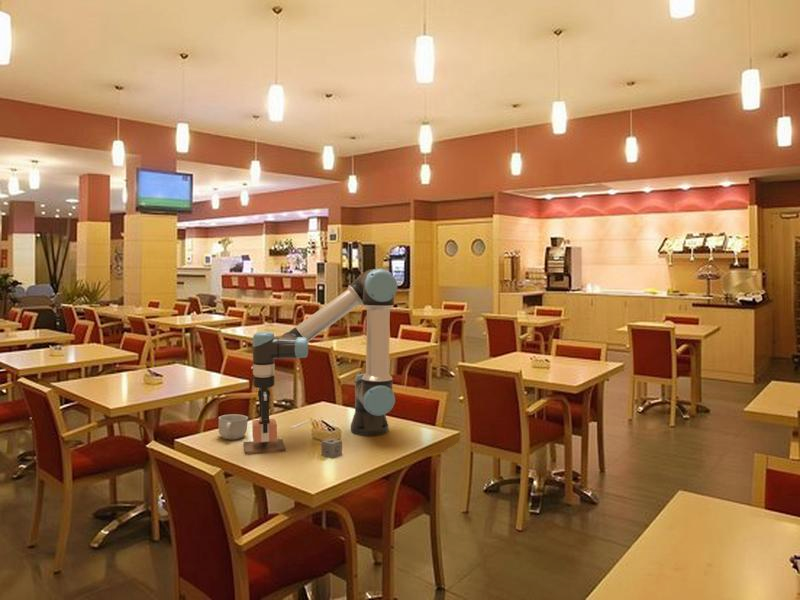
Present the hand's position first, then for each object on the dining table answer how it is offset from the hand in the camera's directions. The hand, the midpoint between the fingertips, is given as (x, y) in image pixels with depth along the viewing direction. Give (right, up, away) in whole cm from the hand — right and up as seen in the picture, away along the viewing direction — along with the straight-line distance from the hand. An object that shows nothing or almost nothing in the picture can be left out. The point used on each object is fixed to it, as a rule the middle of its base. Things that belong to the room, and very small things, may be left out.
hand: (264, 437), depth 210 cm
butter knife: (+10, -2, +39) cm, 40 cm away
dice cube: (+25, -5, -7) cm, 26 cm away
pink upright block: (0, 0, 0) cm, 0 cm away
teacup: (-15, -3, +11) cm, 19 cm away
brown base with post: (0, -4, 0) cm, 4 cm away
